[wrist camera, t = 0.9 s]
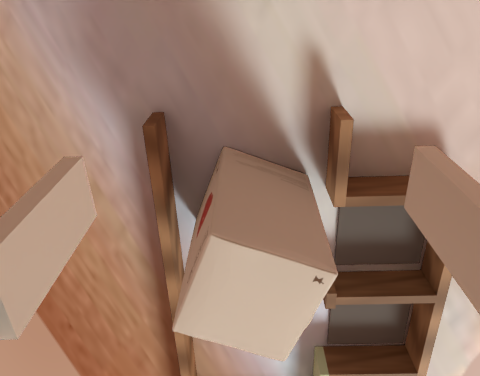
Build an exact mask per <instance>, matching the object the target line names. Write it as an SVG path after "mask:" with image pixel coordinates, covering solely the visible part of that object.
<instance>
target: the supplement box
mask: <svg viewBox="0 0 480 376" xmlns="http://www.w3.org/2000/svg"><path fill="white" fill-rule="evenodd" d="M337 275H338V271H337V268H336V265H335V262H334V258H333V255H332V252H331V249H330V246H329V242H328V239H327V236H326V233H325V229H324V226H323V223H322V220H321V216H320V213H319V210H318V206H317V203H316V200H315V197H314V194H313V190H312V187H311V184H310V181H309V177H308V175H306V174H303V173H300V172H298V171H295V170H292V169H289V168H286V167H283V166H280V165H277V164H274V163H272V162H269V161H266V160H263V159H260V158H258V157H255V156H252V155H249V154H246V153H243V152H240V151H237V150H235V149H232V148H228V147H223V149H222V151H221V154H220V156H219V159H218V161H217V164H216V167H215V169H214V172H213V175H212V177H211V180H210V183H209V185H208V188H207V191H206V193H205V196H204V199H203V201H202V204H201V207H200V209H199V212H198V215H197V218H196V223H195V227H194V232H193V236H192V240H191V245H190V249H189V254H188V258H187V263H186V268H185V272H184V277H183V281H182V286H181V291H180V295H179V300H178V304H177V309H176V313H175V317H174V322H173V326H172V330H173V331H174V332H179V333H182V334H185V335H188V336H192V337H195V338H199V339H203V340H207V341H212V342H215V343H219V344H222V345H226V346H230V347H233V348H237V349H240V350H243V351H247V352H250V353H253V354H257V355H261V356H264V357H268V358H271V359H275V360H279V361H285V360H286V359H287V357H288V355H289V354H290V352H291V351H292V349H293V347H294V346H295V344H296V342H297V341H298V339H299V337H300V336H301V334H302V332H303V331H304V329H305V328H306V327H307V326H308V325H309V324H310V322H311V320H312V318H313V316H314V313H315V311H316V310H317V308H318V306H319V305H320V303H321V301H322V300H323V298H324V297H325V295H326V294H327V292H328V290H329V289H330V287H331V286H332V284H333V282H334V281H335V279H336V277H337Z"/></svg>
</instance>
